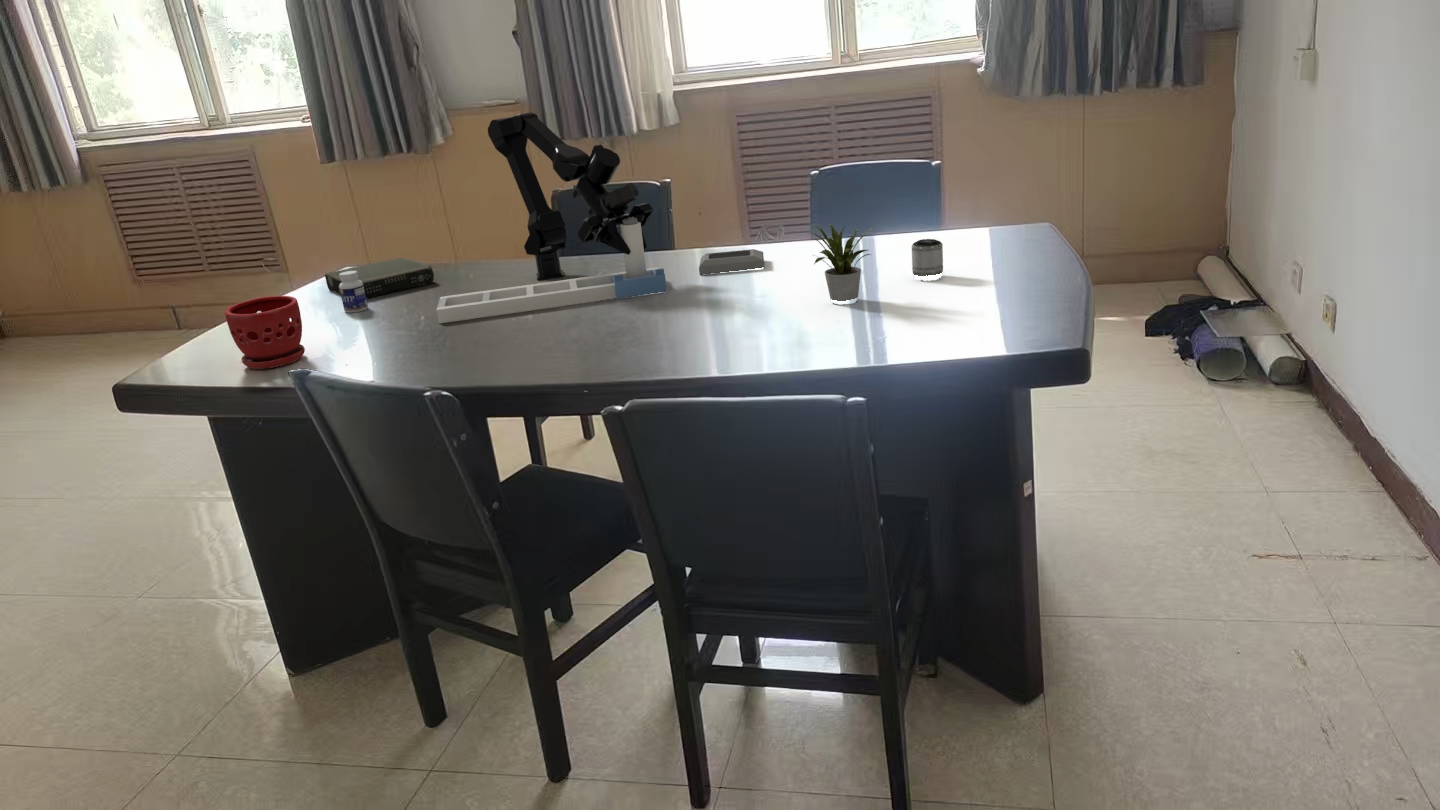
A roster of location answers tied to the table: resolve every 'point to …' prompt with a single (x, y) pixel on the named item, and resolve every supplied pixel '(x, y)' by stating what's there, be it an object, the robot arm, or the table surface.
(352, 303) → the pill bottle
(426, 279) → the network switch
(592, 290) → the white and blue ladder
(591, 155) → the robot arm
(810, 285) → the table surface
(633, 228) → the white capped cylinder
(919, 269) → the camera lens
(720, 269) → the gray box with screen
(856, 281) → the house plant
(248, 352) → the plant pot
